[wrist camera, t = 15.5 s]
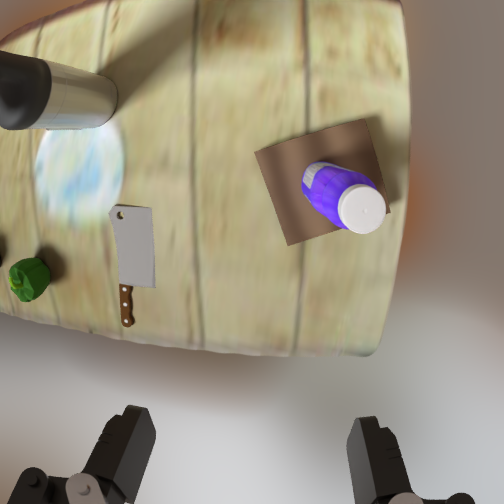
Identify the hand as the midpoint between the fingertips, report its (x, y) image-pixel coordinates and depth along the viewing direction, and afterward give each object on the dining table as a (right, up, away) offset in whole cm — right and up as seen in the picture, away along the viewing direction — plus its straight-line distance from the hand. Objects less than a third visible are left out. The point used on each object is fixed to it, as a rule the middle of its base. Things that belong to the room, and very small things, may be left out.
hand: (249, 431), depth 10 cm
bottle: (+10, +16, +30) cm, 36 cm away
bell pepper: (-44, +3, +43) cm, 62 cm away
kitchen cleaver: (-21, +3, +41) cm, 46 cm away
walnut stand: (+10, +18, +34) cm, 39 cm away
